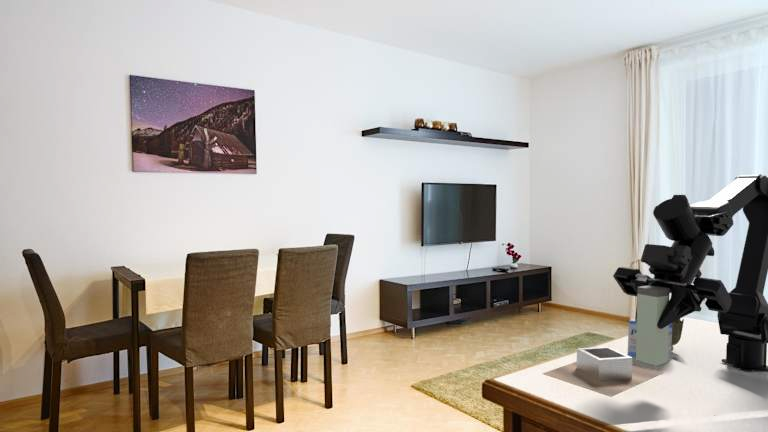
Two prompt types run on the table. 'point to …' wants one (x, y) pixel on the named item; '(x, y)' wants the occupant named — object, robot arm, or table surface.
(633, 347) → the medicine box
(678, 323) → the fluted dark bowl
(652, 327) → the pale green prism
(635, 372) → the beige rectangular plate
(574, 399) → the table surface
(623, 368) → the hollow square tube
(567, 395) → the table surface
